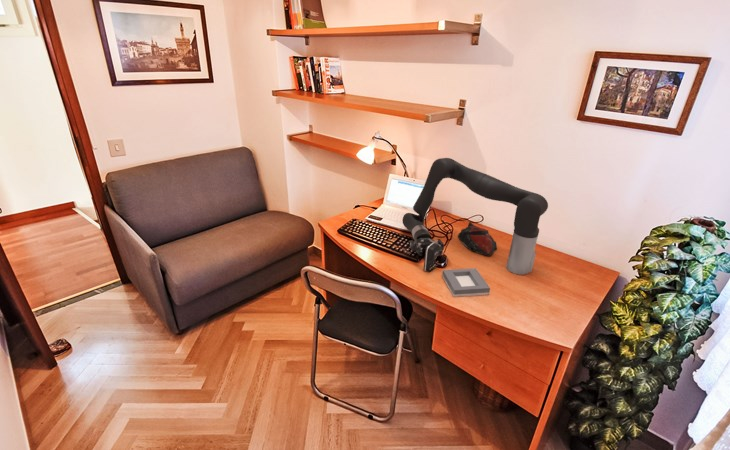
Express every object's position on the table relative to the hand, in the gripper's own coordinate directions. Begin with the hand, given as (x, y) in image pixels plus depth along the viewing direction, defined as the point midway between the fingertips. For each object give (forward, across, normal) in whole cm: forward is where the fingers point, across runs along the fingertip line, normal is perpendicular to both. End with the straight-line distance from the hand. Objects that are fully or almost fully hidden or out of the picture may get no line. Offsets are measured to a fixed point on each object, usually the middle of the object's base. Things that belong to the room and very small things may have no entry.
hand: (431, 253), depth 154 cm
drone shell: (-18, +28, +7) cm, 35 cm away
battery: (+2, 0, +7) cm, 7 cm away
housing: (+15, +10, +7) cm, 19 cm away
